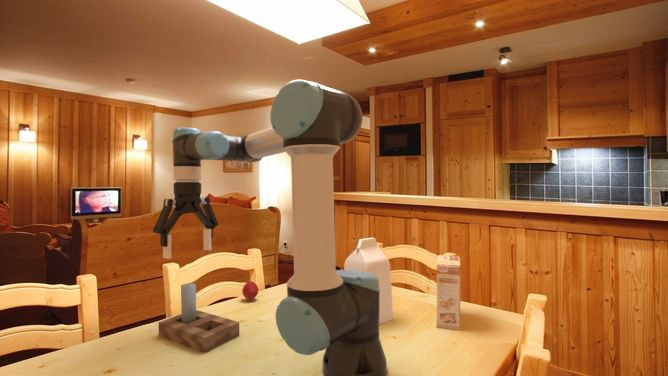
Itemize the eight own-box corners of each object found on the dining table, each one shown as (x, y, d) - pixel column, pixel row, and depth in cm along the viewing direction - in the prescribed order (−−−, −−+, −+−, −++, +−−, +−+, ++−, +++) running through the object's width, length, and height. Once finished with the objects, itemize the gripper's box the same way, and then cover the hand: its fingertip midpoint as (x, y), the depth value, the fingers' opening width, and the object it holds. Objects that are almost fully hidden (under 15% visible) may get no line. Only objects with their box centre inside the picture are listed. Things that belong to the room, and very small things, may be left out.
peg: (199, 331, 106) (198, 284, 105) (187, 336, 102) (186, 288, 102) (190, 328, 108) (190, 282, 107) (178, 333, 104) (178, 286, 104)
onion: (241, 299, 134) (241, 278, 134) (256, 297, 137) (256, 276, 137) (244, 304, 129) (244, 282, 129) (259, 301, 132) (259, 280, 131)
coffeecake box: (460, 330, 106) (460, 265, 106) (435, 327, 108) (435, 263, 108) (459, 313, 120) (460, 255, 120) (437, 310, 122) (438, 254, 122)
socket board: (239, 335, 103) (239, 322, 102) (205, 353, 92) (204, 337, 92) (194, 321, 113) (193, 309, 113) (158, 335, 103) (158, 322, 103)
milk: (366, 328, 107) (366, 243, 107) (341, 317, 116) (341, 238, 116) (393, 318, 115) (393, 239, 115) (368, 309, 124) (368, 234, 124)
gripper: (213, 181, 117) (213, 245, 117) (138, 181, 95) (139, 260, 96) (229, 181, 113) (230, 248, 113) (154, 181, 91) (156, 263, 92)
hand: (188, 253), depth 104 cm, fingers open, 13 cm apart
